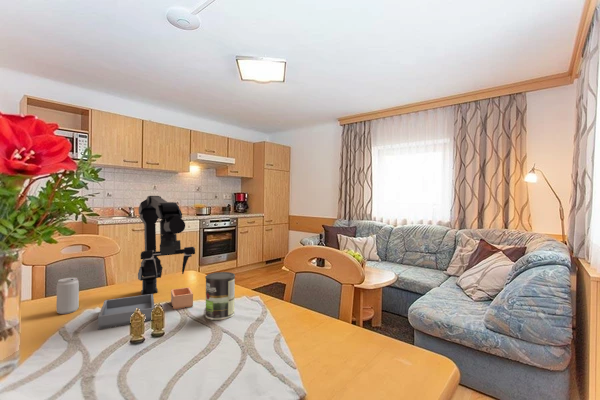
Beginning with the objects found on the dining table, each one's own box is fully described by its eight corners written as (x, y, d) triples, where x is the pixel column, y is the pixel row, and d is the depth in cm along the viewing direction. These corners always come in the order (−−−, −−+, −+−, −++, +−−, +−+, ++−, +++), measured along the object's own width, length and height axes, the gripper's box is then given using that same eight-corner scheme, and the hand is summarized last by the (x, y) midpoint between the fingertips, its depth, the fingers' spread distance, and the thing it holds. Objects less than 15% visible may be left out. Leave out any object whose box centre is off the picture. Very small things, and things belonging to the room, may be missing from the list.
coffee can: (215, 322, 96) (215, 280, 96) (199, 314, 103) (200, 275, 103) (240, 314, 104) (240, 275, 104) (224, 307, 111) (225, 270, 111)
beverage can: (66, 315, 103) (66, 281, 103) (51, 314, 104) (52, 280, 104) (82, 309, 109) (83, 277, 109) (69, 307, 110) (69, 276, 110)
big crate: (104, 311, 107) (104, 300, 107) (153, 303, 114) (153, 293, 114) (97, 329, 91) (97, 316, 91) (154, 319, 99) (154, 308, 99)
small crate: (171, 301, 117) (171, 289, 117) (189, 299, 120) (189, 287, 120) (173, 309, 108) (173, 296, 108) (192, 306, 111) (193, 293, 111)
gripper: (137, 236, 100) (138, 282, 99) (194, 232, 107) (196, 274, 105) (142, 236, 110) (143, 277, 109) (193, 232, 117) (195, 271, 116)
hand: (169, 275), depth 109 cm, fingers open, 9 cm apart
